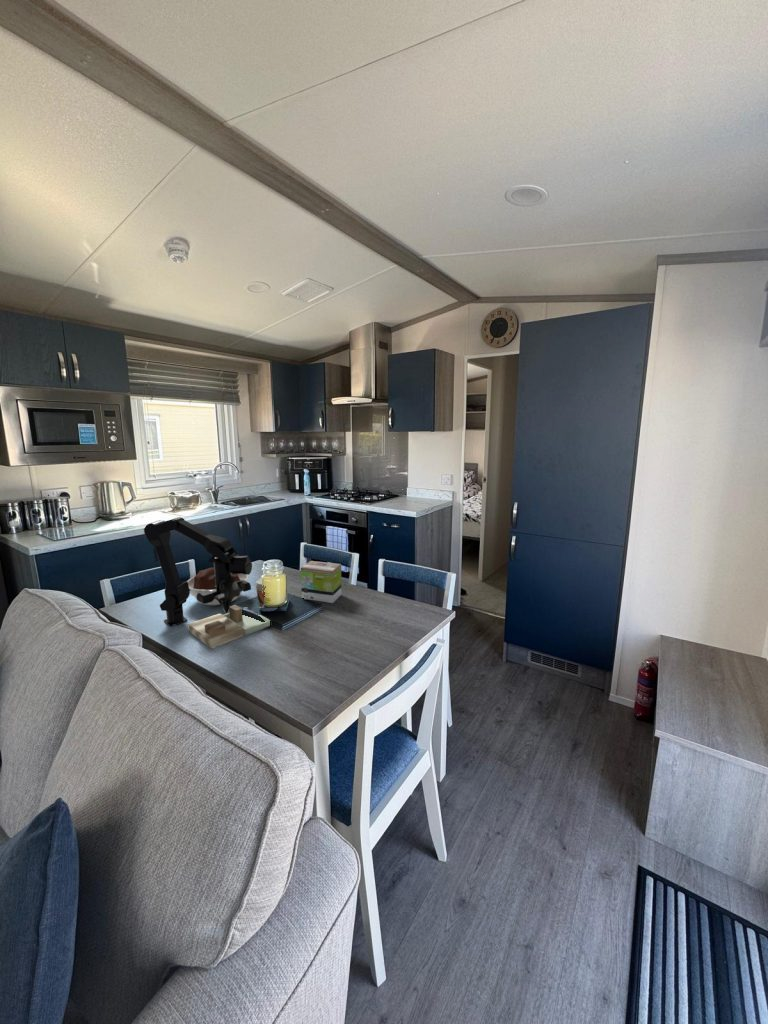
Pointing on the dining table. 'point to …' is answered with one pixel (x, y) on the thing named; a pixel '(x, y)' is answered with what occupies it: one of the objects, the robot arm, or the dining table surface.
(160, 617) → the dining table surface
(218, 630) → the walnut tile
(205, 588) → the white serving bowl
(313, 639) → the dining table surface
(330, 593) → the tea box
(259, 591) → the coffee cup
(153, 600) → the dining table surface
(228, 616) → the tray
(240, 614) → the walnut tile
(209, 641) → the birch bench plate
